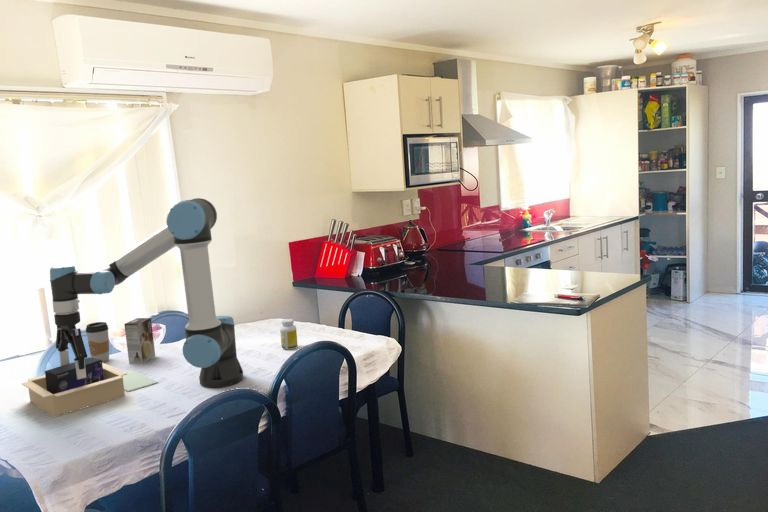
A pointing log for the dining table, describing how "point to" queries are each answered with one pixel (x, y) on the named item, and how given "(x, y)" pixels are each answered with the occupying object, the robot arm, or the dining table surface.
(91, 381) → the box
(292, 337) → the pill bottle
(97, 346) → the coffee cup
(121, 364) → the dining table surface
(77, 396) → the tan open rectangular tray
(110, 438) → the dining table surface
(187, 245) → the robot arm
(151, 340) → the coffee box
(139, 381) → the mat
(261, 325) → the dining table surface
